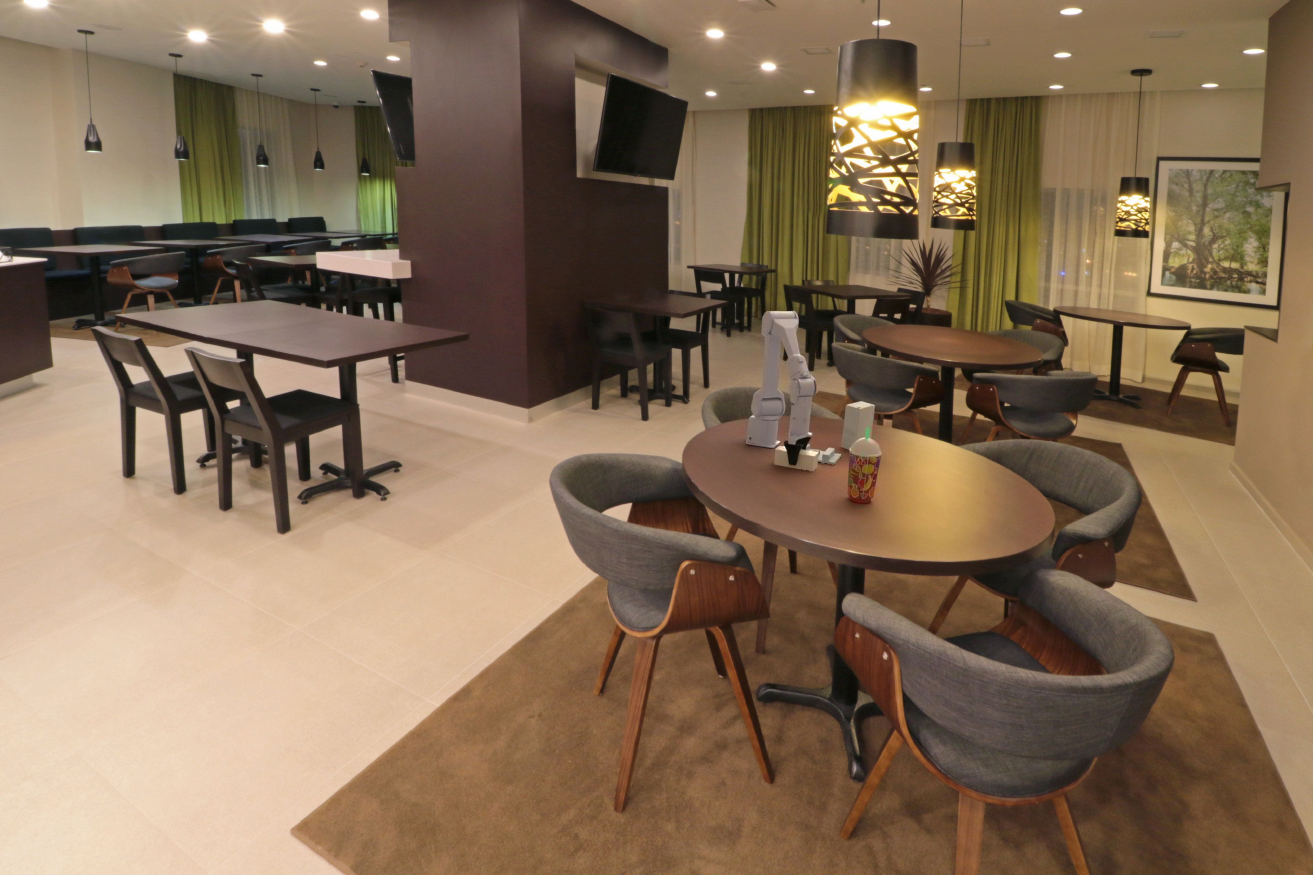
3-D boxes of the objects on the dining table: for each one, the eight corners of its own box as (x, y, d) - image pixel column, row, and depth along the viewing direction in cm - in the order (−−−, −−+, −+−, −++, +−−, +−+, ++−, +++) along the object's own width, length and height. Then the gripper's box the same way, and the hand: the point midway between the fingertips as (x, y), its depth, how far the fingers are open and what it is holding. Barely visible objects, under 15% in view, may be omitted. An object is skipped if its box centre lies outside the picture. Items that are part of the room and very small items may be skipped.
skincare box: (856, 443, 263) (861, 400, 259) (871, 448, 259) (876, 404, 254) (840, 447, 258) (844, 403, 254) (855, 452, 253) (860, 407, 249)
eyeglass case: (774, 465, 238) (775, 449, 237) (778, 461, 242) (780, 445, 241) (812, 472, 233) (814, 456, 232) (817, 468, 237) (818, 452, 236)
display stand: (789, 457, 245) (789, 449, 245) (797, 449, 254) (798, 441, 253) (833, 465, 240) (834, 457, 239) (841, 456, 249) (842, 448, 248)
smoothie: (839, 494, 216) (847, 423, 210) (869, 494, 216) (878, 424, 211) (849, 505, 208) (858, 432, 202) (880, 505, 208) (889, 432, 203)
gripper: (807, 425, 226) (802, 470, 229) (819, 414, 238) (815, 457, 242) (783, 421, 228) (779, 466, 232) (796, 411, 241) (792, 453, 245)
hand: (795, 461), depth 237 cm, fingers open, 7 cm apart
